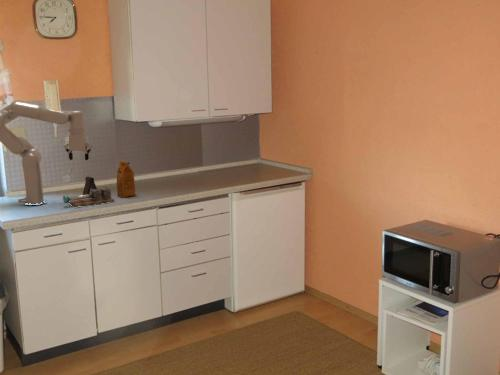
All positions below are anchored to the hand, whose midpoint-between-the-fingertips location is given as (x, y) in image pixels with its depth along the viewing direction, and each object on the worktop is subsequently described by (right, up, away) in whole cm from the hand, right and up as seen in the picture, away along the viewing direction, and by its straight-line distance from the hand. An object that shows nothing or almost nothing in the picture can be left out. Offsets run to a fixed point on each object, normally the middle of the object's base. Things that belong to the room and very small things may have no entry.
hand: (78, 159), depth 359 cm
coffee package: (+25, -22, +16) cm, 37 cm away
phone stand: (+2, -22, +18) cm, 29 cm away
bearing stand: (+8, -26, -2) cm, 27 cm away
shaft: (+3, -25, -5) cm, 25 cm away
